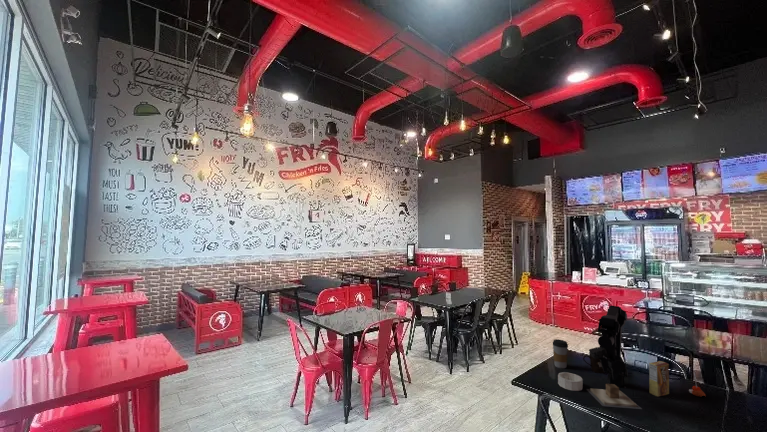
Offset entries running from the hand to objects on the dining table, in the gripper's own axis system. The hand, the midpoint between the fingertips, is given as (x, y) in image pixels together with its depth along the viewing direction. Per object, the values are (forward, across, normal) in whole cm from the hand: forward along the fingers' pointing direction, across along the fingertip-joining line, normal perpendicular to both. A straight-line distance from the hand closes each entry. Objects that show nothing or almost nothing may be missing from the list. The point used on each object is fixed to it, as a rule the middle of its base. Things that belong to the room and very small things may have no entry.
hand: (609, 375), depth 164 cm
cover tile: (+11, +1, +1) cm, 11 cm away
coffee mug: (+11, -35, +8) cm, 37 cm away
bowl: (+11, -10, -14) cm, 21 cm away
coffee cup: (+11, -37, -10) cm, 40 cm away
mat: (+11, +1, +1) cm, 11 cm away
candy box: (+11, -10, +28) cm, 31 cm away
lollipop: (+11, -12, +46) cm, 48 cm away
